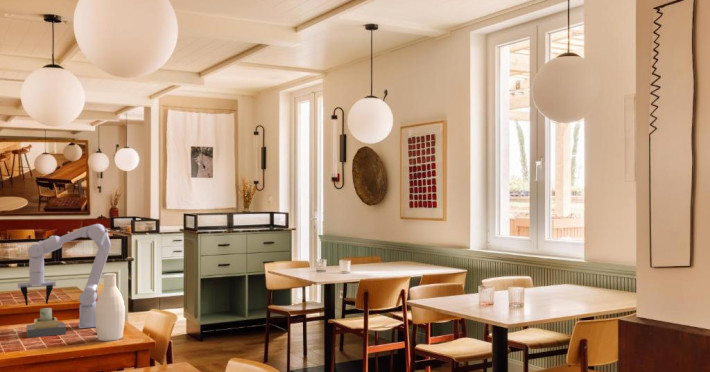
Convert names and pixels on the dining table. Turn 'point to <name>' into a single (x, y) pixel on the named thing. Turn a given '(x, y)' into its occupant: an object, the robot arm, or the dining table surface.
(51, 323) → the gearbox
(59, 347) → the dining table surface
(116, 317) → the bottle
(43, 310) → the spout can
